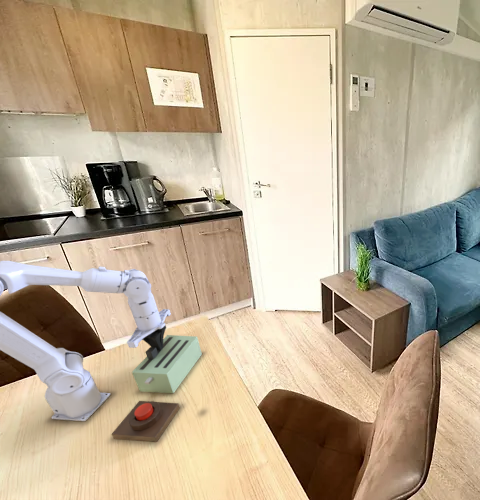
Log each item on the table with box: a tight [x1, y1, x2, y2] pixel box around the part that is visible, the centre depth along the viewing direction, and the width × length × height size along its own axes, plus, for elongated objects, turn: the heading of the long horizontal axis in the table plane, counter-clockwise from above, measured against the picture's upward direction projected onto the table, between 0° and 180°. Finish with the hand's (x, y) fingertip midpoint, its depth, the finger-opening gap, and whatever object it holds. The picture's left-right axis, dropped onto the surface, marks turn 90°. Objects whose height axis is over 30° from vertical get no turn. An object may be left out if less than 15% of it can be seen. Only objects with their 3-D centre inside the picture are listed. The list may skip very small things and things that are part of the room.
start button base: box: [111, 400, 181, 443], centre depth 72 cm, size 11×9×4 cm
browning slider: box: [144, 346, 158, 359], centre depth 82 cm, size 2×2×3 cm
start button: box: [134, 403, 154, 421], centre depth 71 cm, size 4×4×2 cm
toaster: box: [131, 334, 203, 394], centre depth 85 cm, size 10×17×8 cm, turn 176°
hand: (158, 349), depth 85 cm, fingers closed
